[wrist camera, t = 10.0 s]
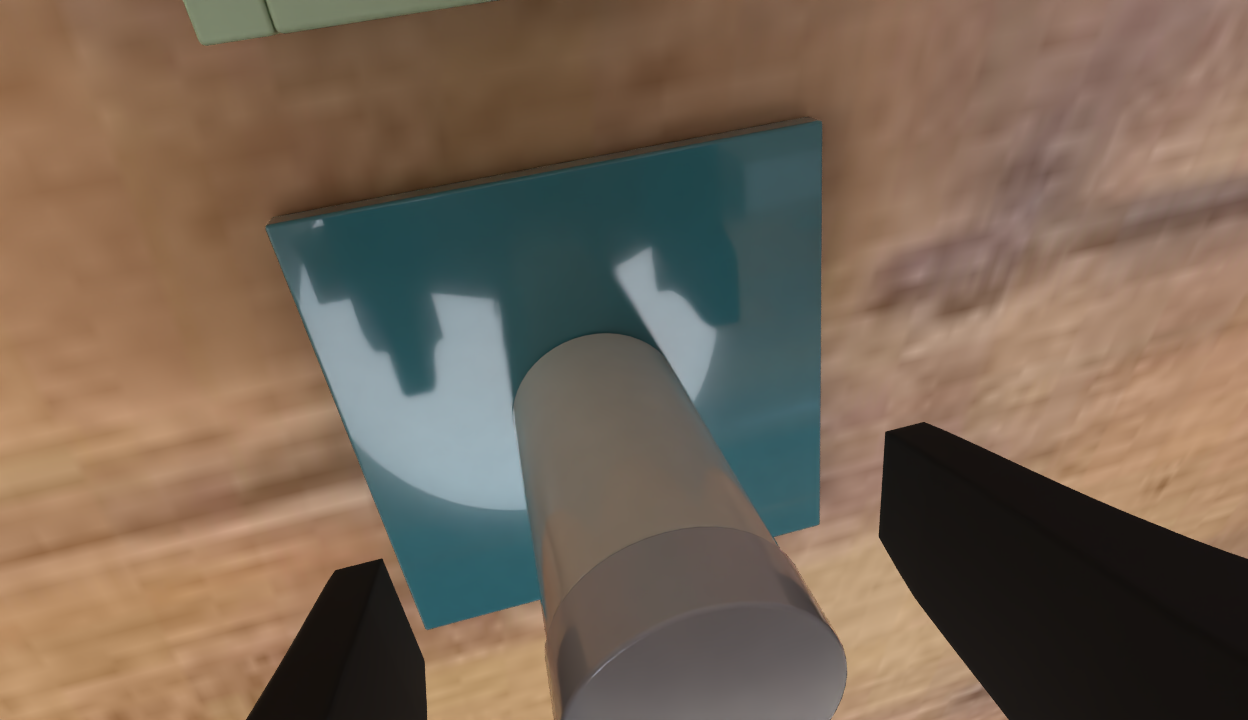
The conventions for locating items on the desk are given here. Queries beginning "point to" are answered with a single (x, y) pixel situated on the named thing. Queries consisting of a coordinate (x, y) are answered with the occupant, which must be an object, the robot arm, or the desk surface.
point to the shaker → (657, 554)
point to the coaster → (564, 331)
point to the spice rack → (294, 15)
